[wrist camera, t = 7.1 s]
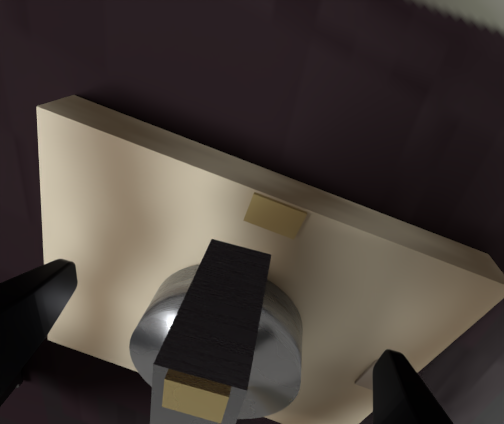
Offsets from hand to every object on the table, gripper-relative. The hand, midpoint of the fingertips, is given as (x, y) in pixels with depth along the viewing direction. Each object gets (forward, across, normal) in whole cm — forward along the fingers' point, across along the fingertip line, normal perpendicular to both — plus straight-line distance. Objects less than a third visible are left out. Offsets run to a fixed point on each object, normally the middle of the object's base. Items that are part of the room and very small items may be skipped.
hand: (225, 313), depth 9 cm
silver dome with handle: (+4, 0, +5) cm, 6 cm away
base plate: (+6, 0, +5) cm, 8 cm away
